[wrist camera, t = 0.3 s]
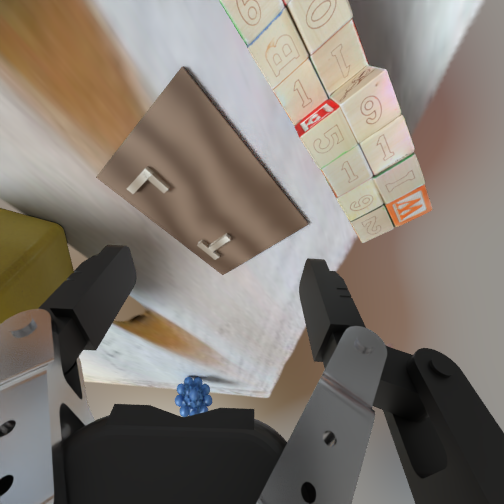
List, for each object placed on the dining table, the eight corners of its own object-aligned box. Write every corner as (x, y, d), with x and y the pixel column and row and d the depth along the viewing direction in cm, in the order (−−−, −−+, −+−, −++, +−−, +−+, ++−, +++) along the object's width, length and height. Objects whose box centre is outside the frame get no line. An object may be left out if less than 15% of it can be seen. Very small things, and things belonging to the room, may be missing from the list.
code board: (183, 66, 23) (179, 67, 22) (307, 222, 35) (309, 227, 34) (98, 175, 31) (92, 179, 30) (223, 272, 43) (222, 278, 42)
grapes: (216, 374, 74) (210, 419, 65) (214, 381, 79) (208, 424, 70) (180, 369, 73) (168, 415, 64) (179, 377, 77) (169, 421, 68)
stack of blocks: (229, 10, 21) (204, -20, 12) (289, -61, 18) (318, -175, 9) (333, 188, 32) (362, 246, 22) (380, 160, 29) (435, 212, 20)
